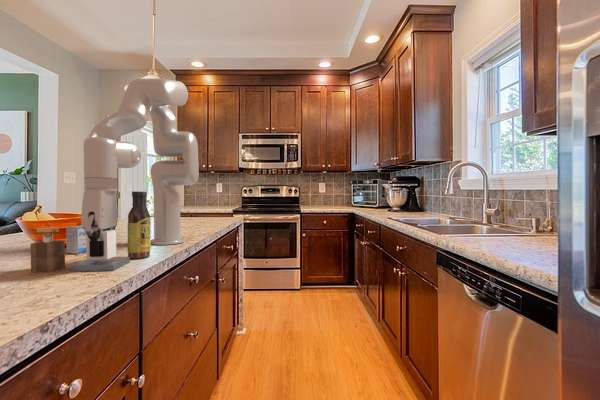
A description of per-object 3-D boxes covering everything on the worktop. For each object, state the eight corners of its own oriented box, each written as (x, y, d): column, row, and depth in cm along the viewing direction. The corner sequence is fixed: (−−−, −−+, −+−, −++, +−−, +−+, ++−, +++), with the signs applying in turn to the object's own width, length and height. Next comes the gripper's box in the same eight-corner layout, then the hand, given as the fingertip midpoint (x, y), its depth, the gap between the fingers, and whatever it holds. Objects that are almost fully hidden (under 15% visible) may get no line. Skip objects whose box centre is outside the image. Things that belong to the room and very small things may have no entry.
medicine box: (77, 254, 104) (77, 227, 103) (66, 253, 105) (65, 226, 104) (98, 250, 111) (97, 224, 111) (86, 249, 112) (86, 224, 112)
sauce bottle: (144, 259, 96) (143, 191, 95) (123, 259, 96) (122, 191, 95) (154, 255, 102) (154, 191, 102) (134, 255, 102) (134, 191, 102)
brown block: (44, 267, 86) (44, 240, 86) (65, 266, 86) (64, 240, 86) (31, 271, 81) (30, 243, 81) (52, 271, 81) (52, 243, 81)
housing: (96, 255, 89) (96, 229, 89) (116, 255, 90) (115, 229, 89) (86, 259, 84) (86, 232, 84) (107, 259, 85) (107, 232, 84)
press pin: (44, 252, 85) (44, 227, 85) (62, 252, 86) (62, 227, 86) (32, 255, 81) (32, 229, 81) (51, 255, 82) (51, 229, 81)
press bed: (92, 262, 91) (92, 257, 91) (130, 262, 92) (129, 256, 92) (70, 271, 81) (70, 265, 81) (113, 270, 82) (113, 264, 82)
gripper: (102, 185, 94) (103, 249, 95) (66, 184, 77) (67, 261, 78) (129, 186, 95) (130, 248, 96) (100, 184, 78) (101, 261, 79)
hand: (102, 253), depth 87 cm, fingers closed on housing, 4 cm apart
